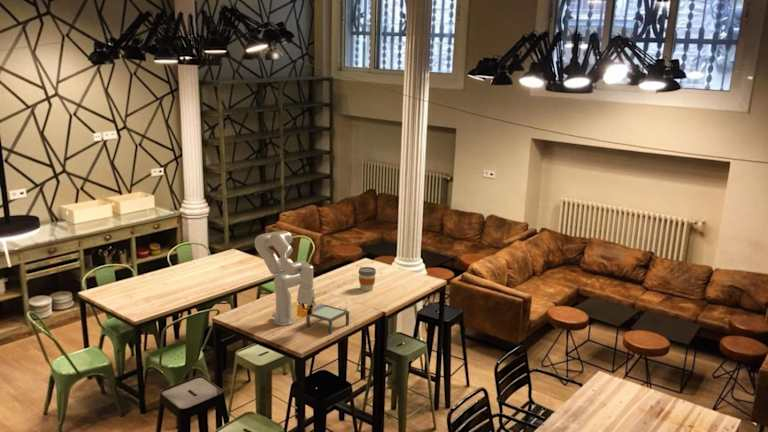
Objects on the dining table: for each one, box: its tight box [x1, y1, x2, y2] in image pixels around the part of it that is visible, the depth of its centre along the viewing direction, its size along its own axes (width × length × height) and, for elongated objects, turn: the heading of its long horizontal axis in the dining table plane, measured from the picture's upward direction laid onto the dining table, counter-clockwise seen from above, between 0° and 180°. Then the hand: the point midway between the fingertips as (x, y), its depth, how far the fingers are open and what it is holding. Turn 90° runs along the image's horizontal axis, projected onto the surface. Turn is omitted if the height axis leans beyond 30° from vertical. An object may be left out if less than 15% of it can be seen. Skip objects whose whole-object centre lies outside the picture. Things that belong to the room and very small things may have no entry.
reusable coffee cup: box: [358, 266, 377, 292], centre depth 494 cm, size 12×13×15 cm
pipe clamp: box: [296, 303, 314, 319], centre depth 411 cm, size 12×4×6 cm, turn 145°
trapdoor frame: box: [305, 304, 350, 335], centre depth 426 cm, size 19×19×9 cm
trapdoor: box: [311, 303, 345, 319], centre depth 425 cm, size 18×15×3 cm
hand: (306, 313), depth 412 cm, fingers closed on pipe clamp, 4 cm apart
